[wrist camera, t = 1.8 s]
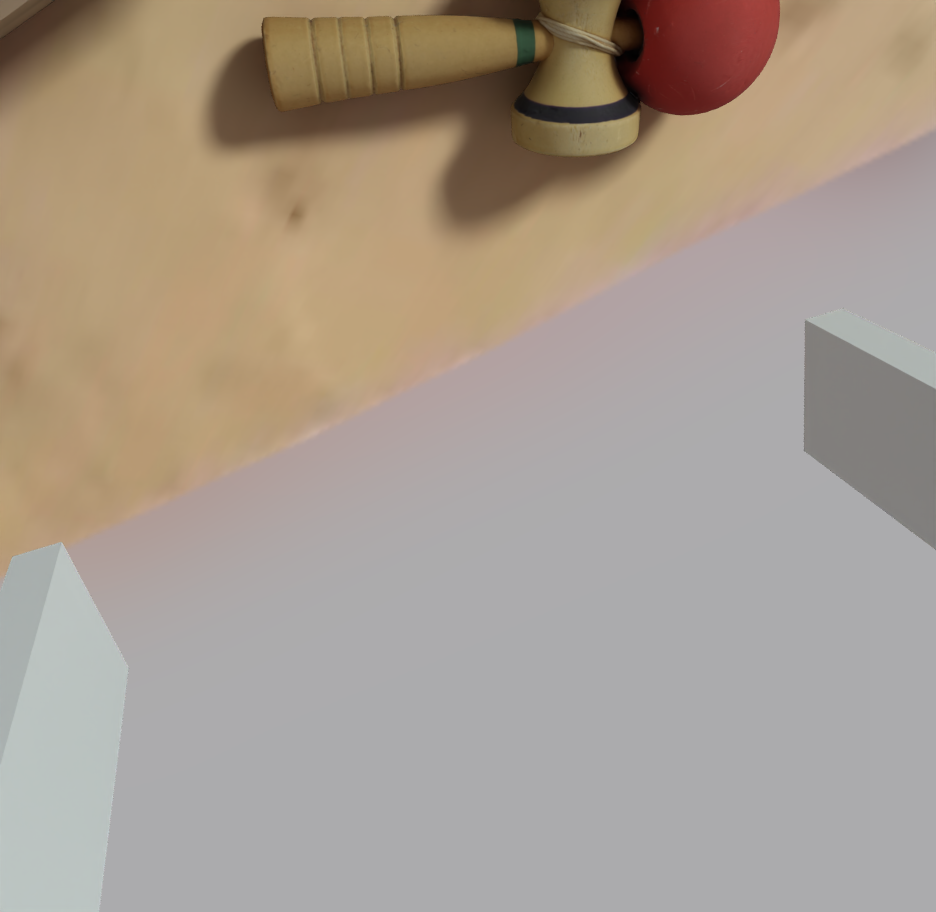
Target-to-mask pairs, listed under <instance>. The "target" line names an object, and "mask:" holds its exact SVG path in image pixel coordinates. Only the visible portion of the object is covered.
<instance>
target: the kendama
mask: <svg viewBox="0 0 936 912" xmlns="http://www.w3.org/2000/svg"><path fill="white" fill-rule="evenodd" d="M538 1H539V4H540V8H541V12H539V14H538V16H537V17H536V18H535V20H530V21H529V20H520V19H505V18H490V17H473V16H449V15H414V16H396V17H395V18H394V19H393V18H391V17H389V16H377V17H367V18H366V19H364V18H362V17H342V18H339V19H338V18H336V17H329V18H313V19H312V20H309V19H308V18H293V17H265V18H264V19H263V22H262V37H263V47H264V54H265V63H266V70H267V74H268V80H269V84H270V90H271V94H272V97H273V100H274V103H275V106H276V108H277V109H278V110H279V111H280V112H284V111H289V110H293V109H299V108H304V107H309V106H314V105H318V104H320V103H321V102H322V101H323V102H326V103H329V102H336V101H341V100H346V99H348V98H357V97H365V96H370V95H372V94H373V93H375V94H383V93H390V92H397V91H399V90H400V89H401V88H402V89H403V90H409V89H416V88H423V87H429V86H434V85H440V84H445V83H451V82H456V81H460V80H464V79H469V78H473V77H477V76H482V75H485V74H490V73H493V72H498V71H502V70H506V69H510V68H513V67H518V66H521V65H525V64H529V63H534V62H538V61H540V62H539V65H538V67H537V70H536V72H535V74H534V76H533V78H532V80H531V82H530V84H529V85H528V87H527V88H526V89H525V90H524V92H523V93H522V94H521V95H520V96H519V97H518V98H517V99H516V100H515V101H514V102H513V103H512V105H511V128H512V138H513V140H514V142H515V143H516V144H518V145H520V146H521V147H523V148H525V149H527V150H530V151H533V152H536V153H540V154H545V155H551V156H562V157H588V156H598V155H605V154H609V153H614V152H617V151H620V150H622V149H624V148H626V147H628V146H630V145H631V144H633V143H634V142H635V141H636V139H637V137H638V132H639V123H640V114H641V106H640V101H641V102H642V103H644V104H645V105H647V106H649V107H651V108H653V109H655V110H658V111H660V112H664V113H668V114H674V115H694V114H700V113H705V112H708V111H711V110H714V109H717V108H719V107H721V106H723V105H725V104H727V103H729V102H731V101H732V100H733V99H735V98H736V97H738V96H739V95H740V94H741V93H743V92H744V91H745V90H746V89H747V88H748V87H749V86H750V85H751V84H752V83H753V82H754V81H755V79H756V78H757V77H758V76H759V74H760V73H761V71H762V70H763V68H764V67H765V65H766V63H767V61H768V60H769V58H770V55H771V53H772V51H773V48H774V45H775V42H776V39H777V34H778V28H779V19H780V2H779V0H538Z"/></svg>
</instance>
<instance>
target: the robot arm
mask: <svg viewBox="0 0 936 912" xmlns="http://www.w3.org/2000/svg"><path fill="white" fill-rule="evenodd" d="M804 381H805V383H804V384H805V385H804V451H805V452H806V453H808V454H809V455H811V456H812V457H813V458H814V459H816V460H817V461H818V462H820V463H821V464H822V465H824V466H825V467H826V468H828V469H829V470H830V471H832V472H833V473H835V474H836V475H837V476H838V477H840V478H841V479H843V480H844V481H845V482H846V483H848V484H849V485H850V486H852V487H853V488H854V489H856V490H857V491H858V492H860V493H861V494H862V495H864V496H865V497H866V498H868V499H869V500H870V501H872V502H873V503H874V504H876V505H877V506H878V507H879V508H881V509H882V510H883V511H885V512H886V513H887V514H889V515H890V516H892V517H893V518H894V519H896V520H897V521H898V522H899V523H901V524H902V525H903V526H905V527H906V528H908V529H909V530H910V531H911V532H913V533H914V534H915V535H917V536H918V537H919V538H921V539H922V540H923V541H925V542H926V543H928V544H929V545H930V546H931V547H933V548H934V549H935V550H936V353H935V352H933V351H931V350H929V349H927V348H925V347H923V346H921V345H919V344H917V343H915V342H912V341H911V340H908V339H906V338H904V337H902V336H900V335H898V334H896V333H894V332H892V331H890V330H887V329H886V328H883V327H881V326H879V325H877V324H875V323H873V322H871V321H869V320H867V319H865V318H863V317H861V316H858V315H856V314H854V313H852V312H850V311H848V310H846V309H844V308H842V309H839V310H835V311H832V312H829V313H825V314H822V315H819V316H815V317H812V318H809V319H805V380H804ZM128 670H129V667H128V665H127V663H126V662H125V660H124V658H123V656H122V654H121V652H120V650H119V648H118V646H117V645H116V643H115V641H114V639H113V637H112V635H111V633H110V631H109V630H108V628H107V626H106V624H105V622H104V620H103V619H102V616H101V615H100V613H99V611H98V609H97V607H96V605H95V603H94V602H93V600H92V598H91V596H90V594H89V592H88V590H87V588H86V586H85V585H84V583H83V581H82V579H81V577H80V575H79V573H78V571H77V570H76V568H75V566H74V564H73V562H72V560H71V558H70V556H69V555H68V553H67V551H66V549H65V547H64V545H63V543H62V542H60V543H56V544H53V545H50V546H46V547H43V548H40V549H36V550H33V551H30V552H26V553H23V554H20V555H16V556H13V557H12V559H11V562H10V565H9V568H8V571H7V573H6V576H5V579H4V582H3V585H2V588H1V590H0V912H99V908H100V899H101V892H102V883H103V875H104V866H105V859H106V851H107V843H108V834H109V825H110V818H111V810H112V802H113V793H114V785H115V777H116V769H117V761H118V752H119V743H120V735H121V728H122V720H123V711H124V703H125V695H126V687H127V679H128Z"/></svg>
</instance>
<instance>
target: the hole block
mask: <svg viewBox="0 0 936 912" xmlns="http://www.w3.org/2000/svg"><path fill="white" fill-rule="evenodd" d="M53 1H54V0H0V39H1V38H3V37H4V36H6V35H7V34H8V33H10V32H11V31H12V30H14V29H15V28H17V27H18V26H19V25H21V24H22V23H24V22H25V21H26V20H28V19H29V18H30V17H32V16H33V15H35V14H36V13H37V12H39V11H40V10H42V9H43V8H44V7H46V6H47V5H49V4H50V3H51V2H53Z"/></svg>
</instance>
